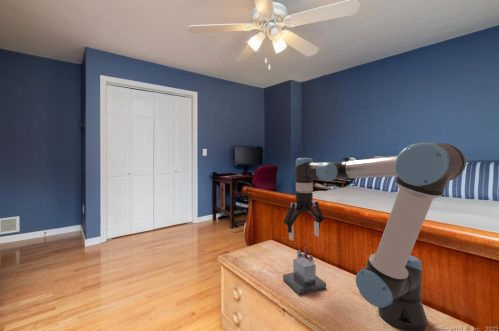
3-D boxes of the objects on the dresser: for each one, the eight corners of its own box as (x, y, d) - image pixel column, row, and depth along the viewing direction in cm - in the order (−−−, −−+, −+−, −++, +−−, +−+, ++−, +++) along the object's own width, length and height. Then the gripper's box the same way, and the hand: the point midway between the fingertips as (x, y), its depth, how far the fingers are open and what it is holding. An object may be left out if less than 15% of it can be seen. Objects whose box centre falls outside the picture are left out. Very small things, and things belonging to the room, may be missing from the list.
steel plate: (326, 288, 109) (326, 283, 109) (299, 295, 104) (299, 289, 104) (307, 274, 122) (307, 269, 122) (283, 279, 117) (283, 274, 117)
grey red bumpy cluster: (316, 267, 124) (302, 248, 127) (300, 276, 128) (287, 257, 130) (318, 259, 134) (306, 241, 137) (303, 268, 138) (291, 250, 140)
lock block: (315, 282, 109) (315, 264, 109) (304, 284, 107) (304, 267, 107) (304, 273, 118) (304, 257, 117) (293, 275, 116) (293, 259, 115)
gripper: (321, 189, 119) (321, 232, 120) (275, 192, 110) (276, 238, 111) (331, 191, 112) (331, 236, 113) (284, 194, 103) (284, 243, 104)
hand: (304, 237), depth 112 cm, fingers open, 13 cm apart
